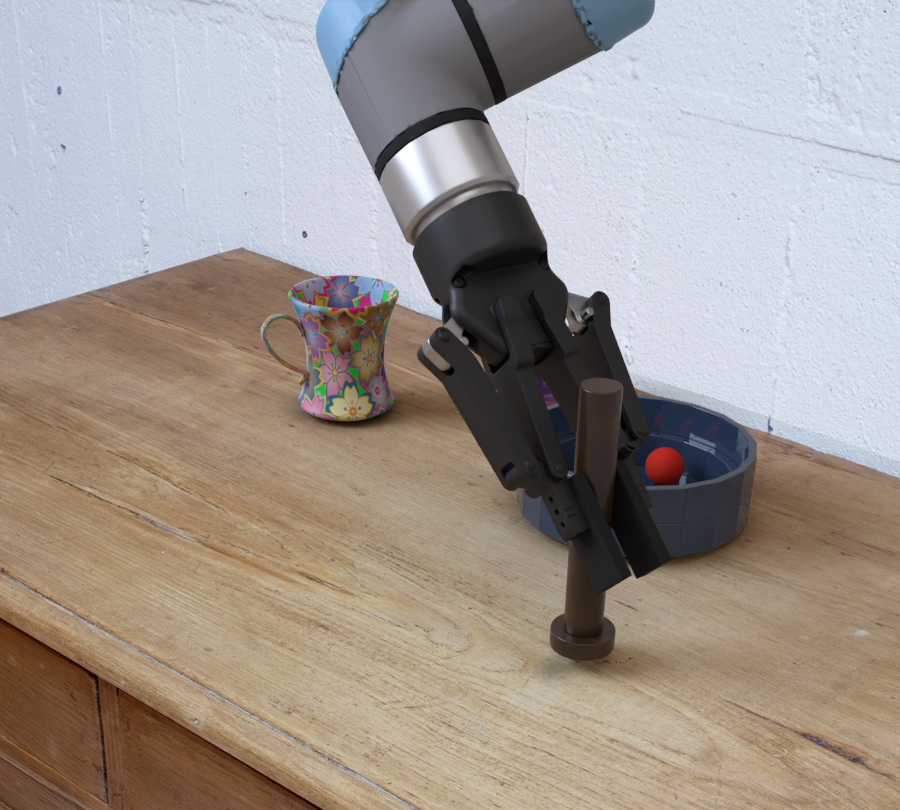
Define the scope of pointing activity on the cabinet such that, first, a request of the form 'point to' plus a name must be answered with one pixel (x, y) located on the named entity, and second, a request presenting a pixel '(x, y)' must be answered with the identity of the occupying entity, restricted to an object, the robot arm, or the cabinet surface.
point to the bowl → (701, 485)
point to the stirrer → (596, 455)
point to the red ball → (664, 466)
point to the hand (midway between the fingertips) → (634, 576)
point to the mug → (341, 345)
